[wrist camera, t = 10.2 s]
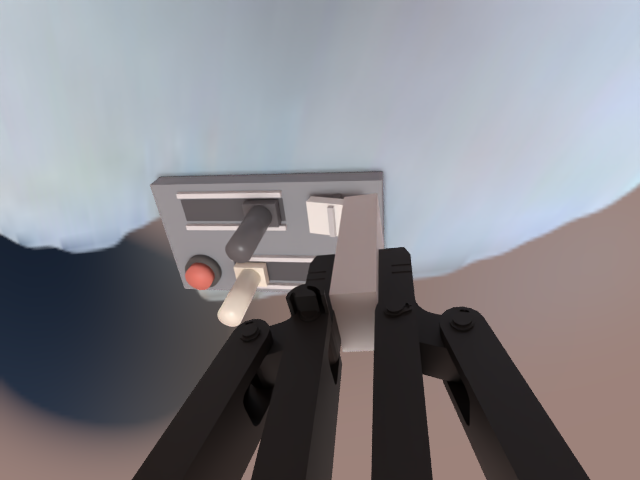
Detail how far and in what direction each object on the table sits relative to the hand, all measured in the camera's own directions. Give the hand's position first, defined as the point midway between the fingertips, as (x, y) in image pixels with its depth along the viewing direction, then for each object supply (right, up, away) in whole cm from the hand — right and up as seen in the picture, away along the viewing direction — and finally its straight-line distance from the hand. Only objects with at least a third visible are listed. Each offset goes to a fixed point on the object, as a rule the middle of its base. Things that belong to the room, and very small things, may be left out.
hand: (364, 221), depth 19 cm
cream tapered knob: (-11, -5, +35) cm, 37 cm away
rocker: (0, +2, +27) cm, 27 cm away
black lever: (-9, +3, +30) cm, 31 cm away
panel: (-8, 0, +34) cm, 35 cm away
